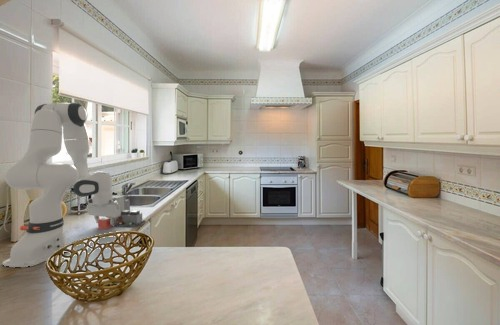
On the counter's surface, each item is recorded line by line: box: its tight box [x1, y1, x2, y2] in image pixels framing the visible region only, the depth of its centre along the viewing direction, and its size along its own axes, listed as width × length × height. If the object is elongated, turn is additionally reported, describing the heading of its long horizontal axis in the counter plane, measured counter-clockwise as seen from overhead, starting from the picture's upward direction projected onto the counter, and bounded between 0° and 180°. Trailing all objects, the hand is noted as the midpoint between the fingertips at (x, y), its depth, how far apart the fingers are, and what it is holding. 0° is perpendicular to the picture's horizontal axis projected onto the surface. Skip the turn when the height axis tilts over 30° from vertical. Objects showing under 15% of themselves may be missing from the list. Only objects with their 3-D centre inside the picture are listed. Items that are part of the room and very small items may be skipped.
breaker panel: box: [113, 212, 146, 228], centre depth 151 cm, size 12×12×6 cm
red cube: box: [97, 217, 113, 230], centre depth 144 cm, size 5×5×5 cm
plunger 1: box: [121, 209, 131, 215], centre depth 151 cm, size 4×4×6 cm
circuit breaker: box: [106, 194, 131, 224], centre depth 160 cm, size 8×14×15 cm, turn 174°
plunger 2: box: [129, 209, 141, 215], centre depth 151 cm, size 4×4×6 cm
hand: (104, 223), depth 145 cm, fingers open, 8 cm apart
